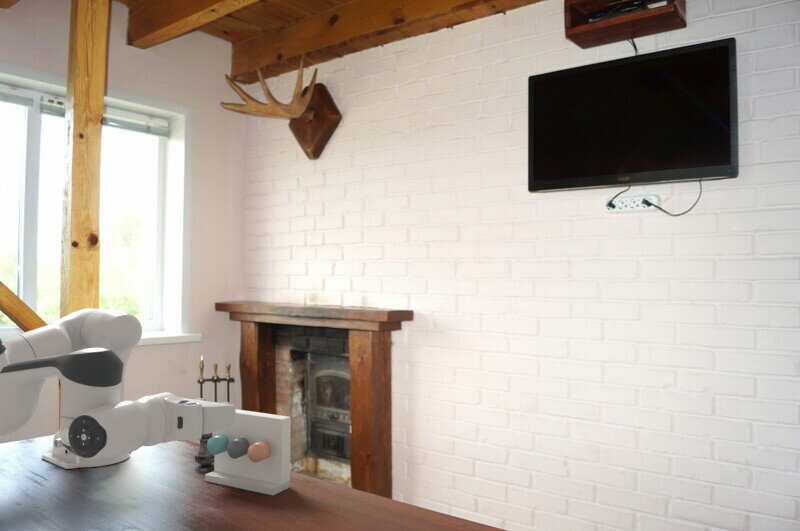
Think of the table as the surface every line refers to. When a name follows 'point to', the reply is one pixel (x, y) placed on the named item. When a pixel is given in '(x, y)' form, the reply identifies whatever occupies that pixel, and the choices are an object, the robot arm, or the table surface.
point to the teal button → (217, 444)
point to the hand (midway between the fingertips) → (215, 404)
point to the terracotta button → (259, 451)
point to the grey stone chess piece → (204, 455)
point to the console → (260, 475)
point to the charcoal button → (238, 448)
